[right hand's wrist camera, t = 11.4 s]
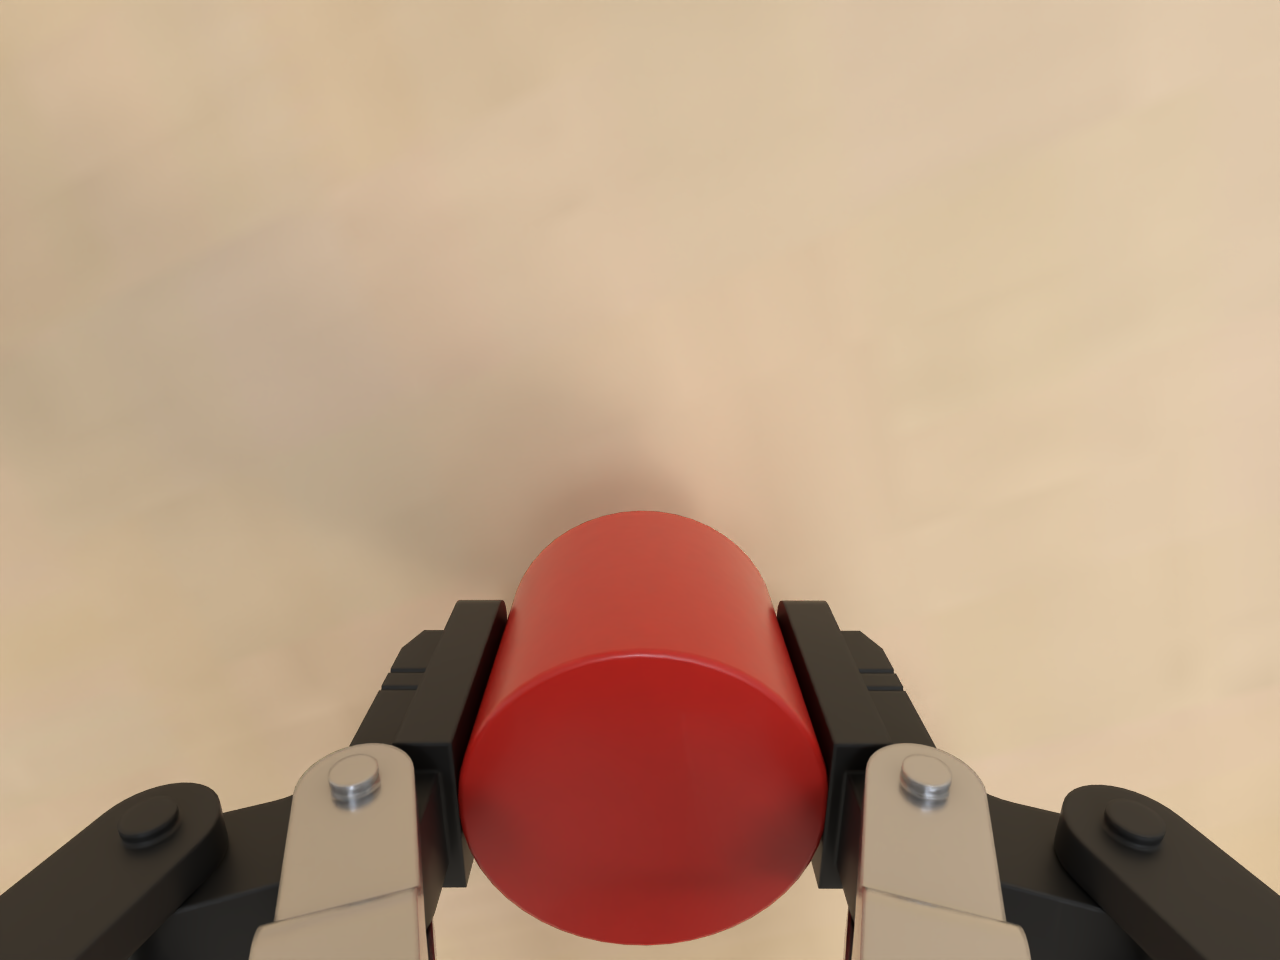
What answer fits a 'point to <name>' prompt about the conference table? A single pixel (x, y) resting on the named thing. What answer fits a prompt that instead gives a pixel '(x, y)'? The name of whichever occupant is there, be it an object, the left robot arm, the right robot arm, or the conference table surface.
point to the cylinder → (642, 739)
